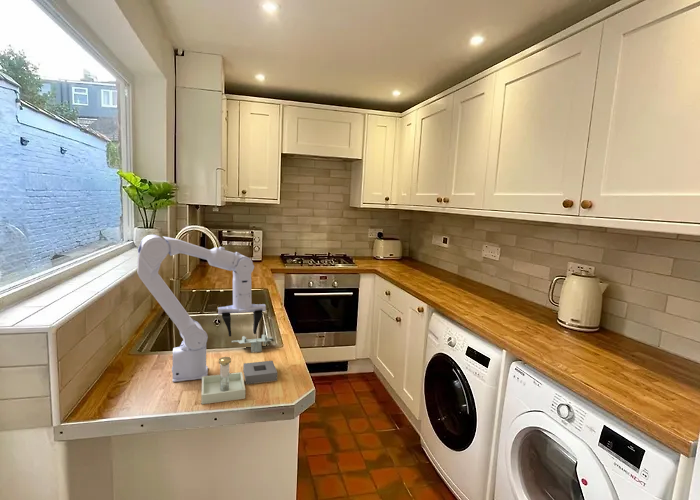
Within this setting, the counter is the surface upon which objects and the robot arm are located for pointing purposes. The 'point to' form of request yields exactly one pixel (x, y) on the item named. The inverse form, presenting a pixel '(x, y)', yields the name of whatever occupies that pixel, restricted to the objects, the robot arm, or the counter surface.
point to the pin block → (259, 372)
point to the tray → (214, 394)
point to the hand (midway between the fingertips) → (242, 334)
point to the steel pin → (224, 373)
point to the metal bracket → (254, 342)
